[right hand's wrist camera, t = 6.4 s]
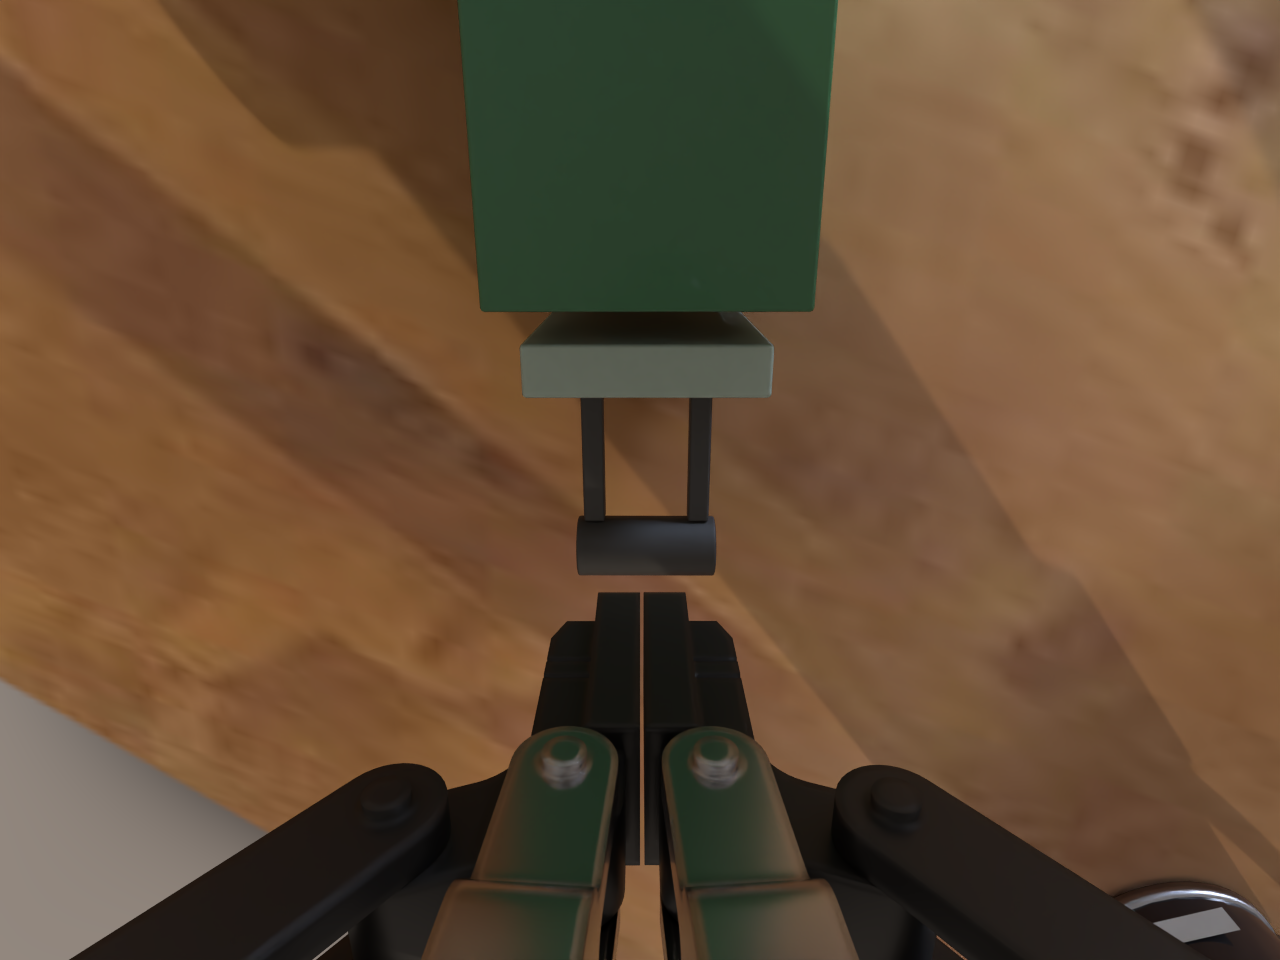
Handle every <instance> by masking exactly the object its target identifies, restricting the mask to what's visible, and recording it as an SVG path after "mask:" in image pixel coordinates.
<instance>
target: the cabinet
mask: <svg viewBox="0 0 1280 960" xmlns="http://www.w3.org/2000/svg"><path fill="white" fill-rule="evenodd" d="M457 2H458V16H459V29H460V43H461V56H462V70H463V83H464V97H465V110H466V124H467V137H468V151H469V164H470V178H471V192H472V205H473V219H474V232H475V246H476V259H477V273H478V286H479V300H480V309H481V311H483V312H810V311H813V309H814V305H815V292H816V279H817V266H818V254H819V241H820V228H821V215H822V202H823V189H824V176H825V163H826V150H827V137H828V124H829V111H830V98H831V86H832V73H833V60H834V47H835V34H836V21H837V8H838V0H457Z"/></svg>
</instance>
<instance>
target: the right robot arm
mask: <svg viewBox="0 0 1280 960" xmlns="http://www.w3.org/2000/svg"><path fill="white" fill-rule="evenodd" d="M643 693H644V838H645V865H659V870H660V928H661V937H662V946H663V955H664V960H964V959H962V958H961V957H960V956H959V955H957V954H956V953H955V952H954V951H952V950H951V949H950V948H949V947H947V946H946V945H945V944H944V943H942V942H941V941H940V940H939V939H937V938H936V936H937V935H938V936H939V937H940V938H941V939H943V940H944V941H945V942H946V943H948V944H949V945H950V946H951V947H953V948H954V949H955V950H956V951H958V952H959V953H960V954H961V955H963V956H964V957H965V958H966V959H968V960H1280V935H1277V934H1275V932H1274V930H1273V928H1272V927H1271V925H1270V924H1269V923H1268V922H1267V920H1266V919H1265V918H1264V917H1263V916H1262V915H1261V914H1260V912H1259V911H1258V910H1257V909H1256V908H1255V907H1254V906H1253V905H1252V904H1251V903H1250V902H1249V901H1248V900H1246V899H1245V898H1244V897H1242V896H1240V895H1239V894H1237V893H1235V892H1233V891H1231V890H1228V889H1225V888H1223V887H1220V886H1216V885H1212V884H1206V883H1199V882H1169V883H1161V884H1155V885H1150V886H1146V887H1142V888H1139V889H1135V890H1132V891H1130V892H1127V893H1124V894H1122V895H1119V896H1117V897H1115V898H1113V897H1111V896H1110V895H1108V894H1106V893H1105V892H1103V891H1102V890H1100V889H1099V888H1097V887H1095V886H1094V885H1092V884H1091V883H1089V882H1088V881H1086V880H1084V879H1083V878H1081V877H1080V876H1078V875H1076V874H1075V873H1073V872H1072V871H1070V870H1069V869H1067V868H1065V867H1064V866H1062V865H1061V864H1059V863H1058V862H1056V861H1054V860H1053V859H1051V858H1050V857H1048V856H1047V855H1045V854H1043V853H1042V852H1040V851H1039V850H1037V849H1036V848H1034V847H1032V846H1031V845H1029V844H1028V843H1026V842H1025V841H1023V840H1021V839H1020V838H1018V837H1017V836H1015V835H1013V834H1012V833H1010V832H1009V831H1007V830H1006V829H1004V828H1002V827H1001V826H999V825H998V824H996V823H995V822H993V821H991V820H990V819H988V818H987V817H985V816H984V815H982V814H980V813H979V812H977V811H976V810H974V809H973V808H971V807H969V806H968V805H966V804H965V803H963V802H961V801H960V800H958V799H957V798H955V797H954V796H952V795H950V794H949V793H947V792H946V791H944V790H943V789H941V788H939V787H938V786H936V785H935V784H933V783H932V782H930V781H928V780H927V779H925V778H923V777H921V776H920V775H918V774H915V773H913V772H911V771H908V770H905V769H902V768H898V767H893V766H886V765H869V766H863V767H859V768H856V769H854V770H852V771H850V772H848V773H847V774H846V775H845V776H843V777H842V778H841V780H840V781H839V783H838V785H837V788H836V789H834V788H830V787H826V786H822V785H818V784H814V783H810V782H806V781H803V780H799V779H797V778H794V777H792V776H790V775H787V774H786V773H784V772H782V771H780V770H779V769H777V768H776V767H775V766H773V765H772V764H771V763H770V762H769V759H768V757H767V755H766V752H765V751H764V750H763V748H762V747H761V746H760V745H759V744H758V743H757V742H756V741H755V740H754V736H753V731H752V727H751V722H750V717H749V713H748V708H747V703H746V699H745V694H744V689H743V685H742V680H741V678H740V671H739V666H738V662H737V657H736V652H735V648H734V643H733V638H732V637H731V636H730V635H729V634H728V633H727V632H726V631H725V630H724V629H723V627H722V626H721V625H720V624H719V623H718V622H717V621H689V619H688V610H687V602H686V594H685V592H644V661H643ZM625 865H640V592H599V593H598V599H597V609H596V618H595V621H567V622H566V623H565V624H564V625H563V626H562V627H561V628H560V629H559V631H558V632H557V633H556V634H555V635H554V636H553V637H552V638H551V642H550V647H549V652H548V657H547V662H546V667H545V671H544V678H543V681H542V686H541V691H540V696H539V701H538V705H537V710H536V715H535V720H534V725H533V730H532V735H531V737H529V738H528V739H527V740H525V741H524V742H523V743H522V744H521V745H520V746H519V747H518V748H517V750H516V751H515V752H514V755H513V757H512V759H511V762H510V765H509V768H508V769H507V770H505V771H503V772H502V773H500V774H498V775H496V776H494V777H491V778H489V779H487V780H483V781H480V782H477V783H473V784H469V785H465V786H461V787H457V788H452V789H448V790H447V787H446V784H445V782H444V780H443V779H442V777H441V776H440V775H439V774H438V773H437V772H435V771H434V770H432V769H430V768H428V767H425V766H422V765H418V764H410V763H400V764H391V765H386V766H382V767H379V768H376V769H373V770H370V771H368V772H366V773H364V774H362V775H360V776H358V777H356V778H355V779H353V780H352V781H350V782H348V783H347V784H345V785H344V786H342V787H341V788H339V789H337V790H336V791H334V792H333V793H331V794H330V795H328V796H326V797H325V798H323V799H322V800H320V801H319V802H317V803H315V804H314V805H312V806H311V807H309V808H308V809H306V810H304V811H303V812H301V813H300V814H298V815H296V816H295V817H293V818H292V819H290V820H289V821H287V822H285V823H284V824H282V825H281V826H279V827H278V828H276V829H274V830H273V831H271V832H270V833H268V834H267V835H265V836H263V837H262V838H260V839H259V840H257V841H256V842H254V843H252V844H251V845H249V846H248V847H246V848H244V849H243V850H241V851H240V852H238V853H237V854H235V855H233V856H232V857H230V858H229V859H227V860H226V861H224V862H222V863H221V864H219V865H218V866H216V867H215V868H213V869H211V870H210V871H208V872H207V873H205V874H204V875H202V876H200V877H199V878H197V879H196V880H194V881H193V882H191V883H189V884H188V885H186V886H185V887H183V888H181V889H180V890H178V891H177V892H175V893H174V894H172V895H171V896H169V897H167V898H166V899H164V900H163V901H161V902H159V903H158V904H156V905H155V906H153V907H152V908H150V909H148V910H147V911H145V912H144V913H142V914H141V915H139V916H137V917H136V918H134V919H133V920H131V921H129V922H128V923H126V924H125V925H123V926H122V927H120V928H118V929H117V930H115V931H114V932H112V933H111V934H109V935H107V936H106V937H104V938H103V939H101V940H100V941H98V942H96V943H95V944H93V945H92V946H90V947H89V948H87V949H85V950H84V951H82V952H81V953H79V954H78V955H76V956H74V957H73V958H71V959H70V960H312V959H314V958H315V957H316V956H317V955H319V954H320V953H321V952H322V951H324V950H325V949H326V948H327V947H329V946H330V945H331V944H332V943H334V942H335V941H336V940H337V939H339V938H340V937H341V936H342V935H344V934H345V933H346V932H347V931H348V935H346V936H345V937H344V938H343V939H341V940H340V941H339V942H338V943H337V944H335V945H334V946H333V947H332V948H330V949H329V950H328V951H326V952H325V953H324V954H323V955H322V956H320V957H319V958H318V959H316V960H616V955H617V946H618V937H619V928H620V906H621V904H622V901H623V898H624V892H625Z"/></svg>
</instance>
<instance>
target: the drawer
mask: <svg viewBox="0 0 1280 960" xmlns="http://www.w3.org/2000/svg"><path fill="white" fill-rule="evenodd" d="M773 359H774V346H773V344H772V343H771V342H770V341H769V340H768V339H767V338H766V337H765V336H764V335H763V334H762V333H761V332H760V331H759V330H758V329H757V328H756V327H755V326H754V325H753V324H752V323H751V322H750V321H749V320H748V319H747V318H746V317H745V316H744V315H743V314H742V313H741V312H552V313H551V314H550V315H549V316H548V317H547V318H546V319H545V320H544V321H543V322H542V323H541V324H540V326H539V327H538V328H537V329H536V330H535V331H534V332H533V333H532V334H531V335H530V336H529V337H528V338H527V339H526V340H525V341H524V342H523V343H522V344H521V346H520V362H521V380H522V394H523V396H524V397H526V398H581V426H582V460H583V494H584V516H579V519H578V524H577V540H576V556H577V570H578V574H579V575H714V572H715V566H716V528H715V520H714V517H713V516H708V515H709V484H710V453H711V423H712V398H768V397H770V396H771V392H772V376H773ZM604 398H689V436H688V482H687V516H605V514H606V503H605V449H604Z"/></svg>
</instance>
